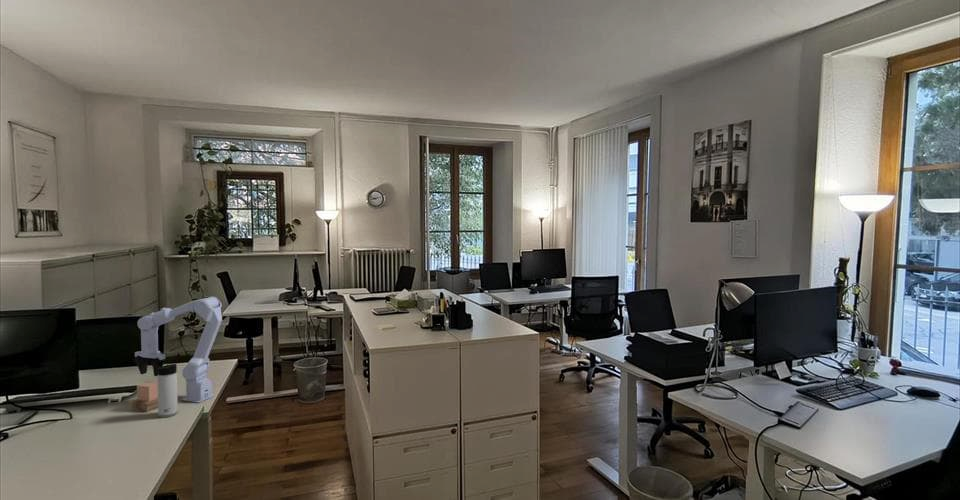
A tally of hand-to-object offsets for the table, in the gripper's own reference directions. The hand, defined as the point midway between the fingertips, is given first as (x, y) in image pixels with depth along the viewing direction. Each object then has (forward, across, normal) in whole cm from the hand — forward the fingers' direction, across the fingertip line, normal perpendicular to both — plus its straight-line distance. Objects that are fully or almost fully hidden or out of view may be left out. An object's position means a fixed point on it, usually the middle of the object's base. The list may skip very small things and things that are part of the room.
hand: (150, 374), depth 192 cm
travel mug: (+11, -22, +10) cm, 27 cm away
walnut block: (+11, -8, +7) cm, 15 cm away
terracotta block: (+7, -8, +7) cm, 13 cm away
